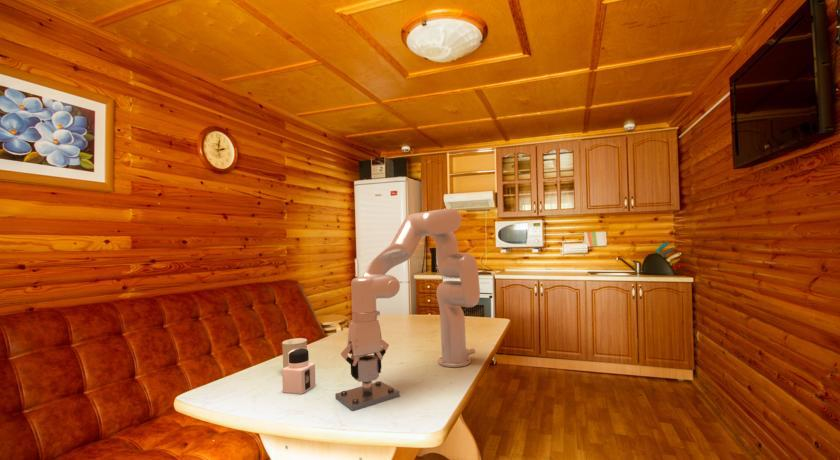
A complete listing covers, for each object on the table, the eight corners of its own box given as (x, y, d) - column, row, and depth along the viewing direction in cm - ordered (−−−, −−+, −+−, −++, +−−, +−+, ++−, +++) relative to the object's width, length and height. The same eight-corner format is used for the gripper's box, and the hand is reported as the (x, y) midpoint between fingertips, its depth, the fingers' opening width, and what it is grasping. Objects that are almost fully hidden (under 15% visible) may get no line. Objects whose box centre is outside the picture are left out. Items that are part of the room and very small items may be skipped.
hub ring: (371, 372, 125) (370, 353, 125) (382, 377, 119) (381, 358, 119) (351, 377, 121) (350, 357, 121) (361, 383, 115) (361, 362, 115)
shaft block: (380, 385, 129) (379, 365, 129) (399, 396, 119) (398, 374, 120) (335, 398, 120) (334, 376, 120) (352, 411, 110) (351, 387, 110)
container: (316, 385, 132) (314, 347, 132) (302, 394, 125) (300, 353, 125) (297, 384, 134) (295, 346, 135) (282, 392, 127) (281, 352, 127)
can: (277, 374, 146) (276, 342, 146) (294, 366, 155) (293, 336, 155) (297, 376, 143) (296, 343, 143) (313, 368, 151) (312, 337, 152)
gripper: (382, 311, 129) (384, 366, 128) (333, 319, 119) (335, 378, 118) (394, 314, 122) (396, 371, 122) (343, 322, 112) (345, 385, 112)
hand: (366, 374), depth 120 cm, fingers closed on hub ring, 7 cm apart
